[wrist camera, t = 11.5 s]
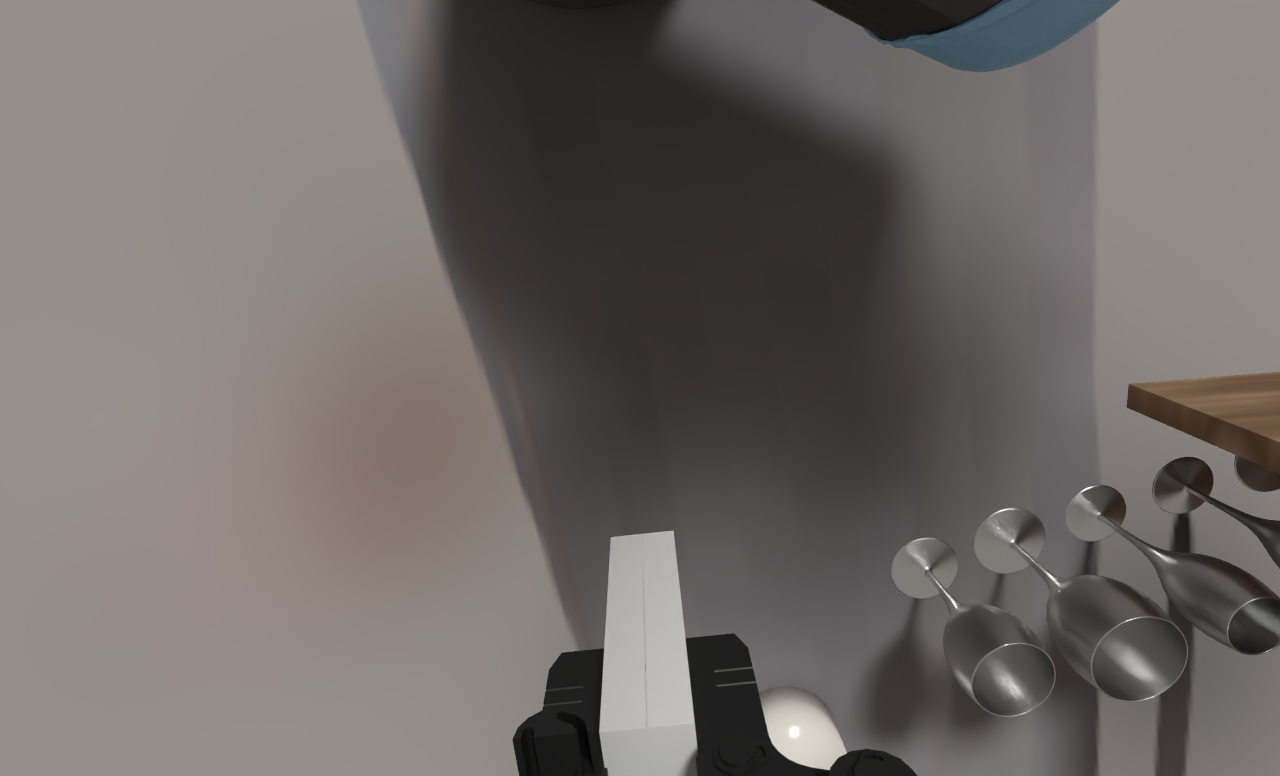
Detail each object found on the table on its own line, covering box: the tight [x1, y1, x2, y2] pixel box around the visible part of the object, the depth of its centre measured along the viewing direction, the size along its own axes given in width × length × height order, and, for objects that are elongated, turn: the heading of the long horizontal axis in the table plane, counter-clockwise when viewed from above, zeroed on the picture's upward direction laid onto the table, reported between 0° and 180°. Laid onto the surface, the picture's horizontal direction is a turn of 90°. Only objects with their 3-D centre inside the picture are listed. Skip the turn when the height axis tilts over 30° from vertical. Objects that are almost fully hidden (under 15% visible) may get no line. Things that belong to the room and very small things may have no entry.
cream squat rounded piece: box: [759, 687, 847, 770], centre depth 51 cm, size 7×7×4 cm
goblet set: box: [891, 455, 1280, 717], centre depth 43 cm, size 28×6×13 cm, turn 109°
